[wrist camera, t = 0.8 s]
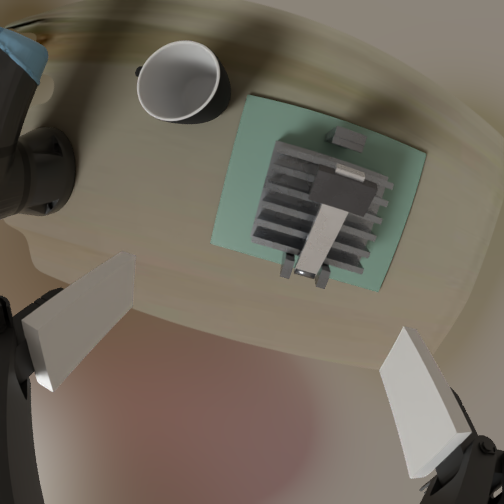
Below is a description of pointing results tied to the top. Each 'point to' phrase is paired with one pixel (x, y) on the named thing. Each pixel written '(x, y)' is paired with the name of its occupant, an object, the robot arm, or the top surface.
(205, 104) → the mug
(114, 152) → the top surface
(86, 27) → the top surface
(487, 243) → the top surface
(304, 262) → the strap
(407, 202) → the board
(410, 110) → the top surface
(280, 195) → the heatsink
